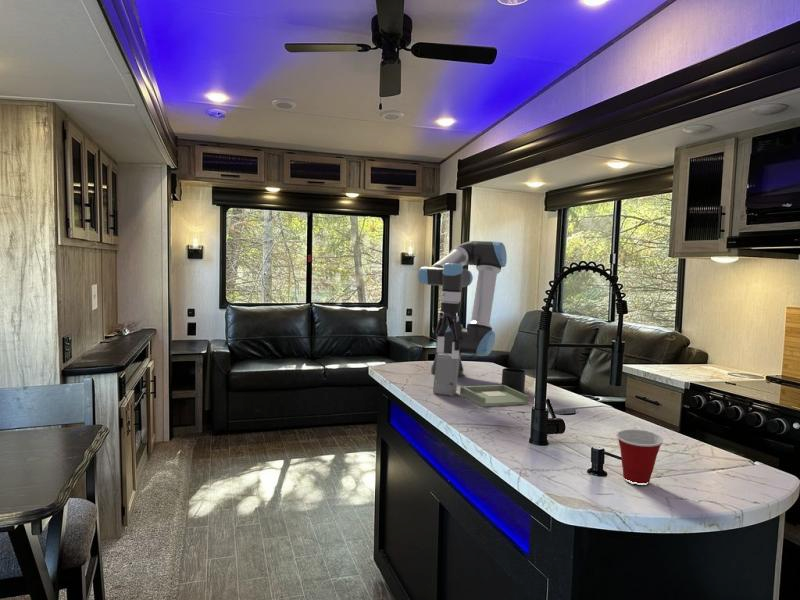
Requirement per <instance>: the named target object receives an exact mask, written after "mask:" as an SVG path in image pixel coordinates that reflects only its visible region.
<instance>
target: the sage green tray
mask: <svg viewBox="0 0 800 600" xmlns="http://www.w3.org/2000/svg"><path fill="white" fill-rule="evenodd" d="M459 395H460V396H462V397H464V398H466V399H468V400H469V401H471V402H473V403H475V404H477V405H478V406H480V407H482V408H488V407H487V406H489V407H500V406H499V405H506V406H518V405H517V404H524V405H529V402H530V395H528V394H525V393H521V392H519V391H517V390H515V389H512V388H510V387H508V386H506V385H502V384H491V385H489V384H488V385H487V384H486V385H469V386H467V385H464V386H460V390H459Z"/></svg>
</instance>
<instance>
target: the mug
mask: <svg viewBox="0 0 800 600" xmlns="http://www.w3.org/2000/svg"><path fill="white" fill-rule="evenodd" d="M526 373H527V372H526V370H525V369H521V368H518V367H516V368H514V367H504V368H503V369H502V374H501V385H506V386H508V387H510V388H512V389H515V390H517V391H519V392H521V393H523V394H525V386H526Z"/></svg>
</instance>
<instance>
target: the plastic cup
mask: <svg viewBox="0 0 800 600" xmlns="http://www.w3.org/2000/svg"><path fill="white" fill-rule="evenodd" d="M615 437H616V438H617V439H618V440H617V441H618V442H619V448H620V449H619V450H620V458H621V459H620V460H621V467H622V474H623V479H624V478H625V479H627V480H630V481H632V482H637V483H647V482H649V481H650V480H651V477H652V474H653V472H654V468H655V465H656V461H657V457H658V453H659V450H660V448H661V445H662V444H663V443H664V438H663V437H662V436H661V435H659V434H657V433H655V432H652V431H648V430H644V429H637V428H636V429H633V428H632V429H631V428H627V429H622V430H618V431H617V432H616V434H615ZM649 483H650V482H649Z"/></svg>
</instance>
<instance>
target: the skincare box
mask: <svg viewBox="0 0 800 600" xmlns="http://www.w3.org/2000/svg"><path fill="white" fill-rule="evenodd" d="M460 358H461V356H460V355H459V359H452V354H448V353H439V354H437V358H436V367H435V374H434V376H433V377H434V379H433V386H432V388H433V389H432V393H433V394H437V395H443V396H444V395H445V396H451V397H452V396H454V395H456V393H457V388H458V378H459V376H458V370H459V361H460Z"/></svg>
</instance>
